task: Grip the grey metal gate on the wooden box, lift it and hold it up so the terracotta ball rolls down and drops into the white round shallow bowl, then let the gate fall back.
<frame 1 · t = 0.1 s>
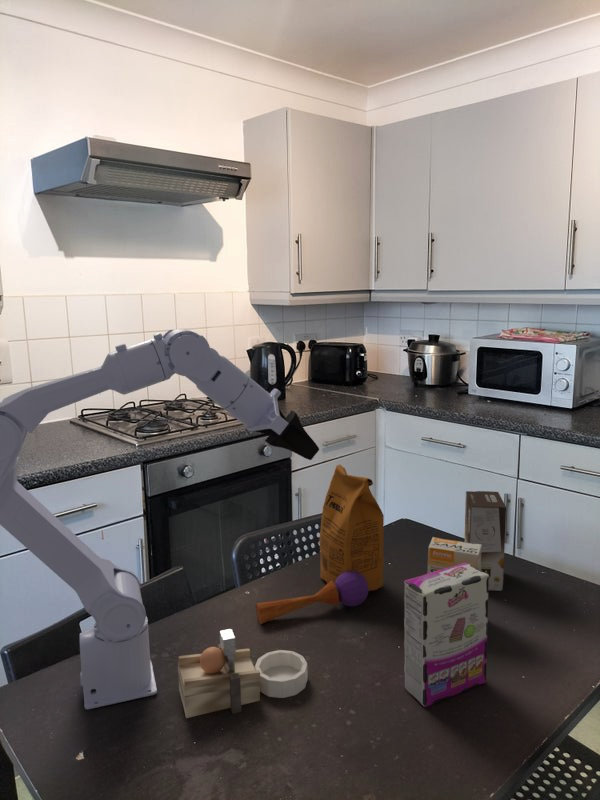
hand: (305, 447, 91), 32 cm above the table, tool tilted 50°, fingers open, 7 cm apart
candy bar box: (444, 687, 86), on the table
wooden box: (219, 695, 85), on the table
coffee package: (350, 584, 116), on the table, touching kendama
coffee box: (482, 580, 117), on the table
kendama: (314, 612, 106), on the table, touching coffee package
gate: (228, 650, 84), point 6 cm above the table, slide at 0.0 cm, touching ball
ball: (212, 660, 84), point 6 cm above the table, tilted 7°, touching gate, wooden box
supplement box: (452, 619, 104), on the table
white round shallow bowl: (281, 681, 88), on the table
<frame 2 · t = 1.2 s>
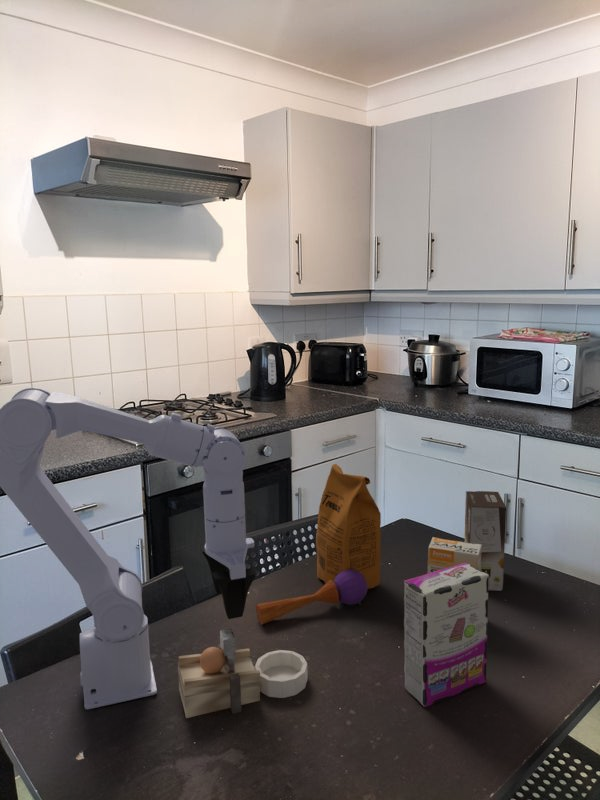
hand: (228, 603, 90), 10 cm above the table, tool pointing down, fingers open, 7 cm apart
coffee package: (347, 583, 117), on the table, touching kendama
everything else where it was.
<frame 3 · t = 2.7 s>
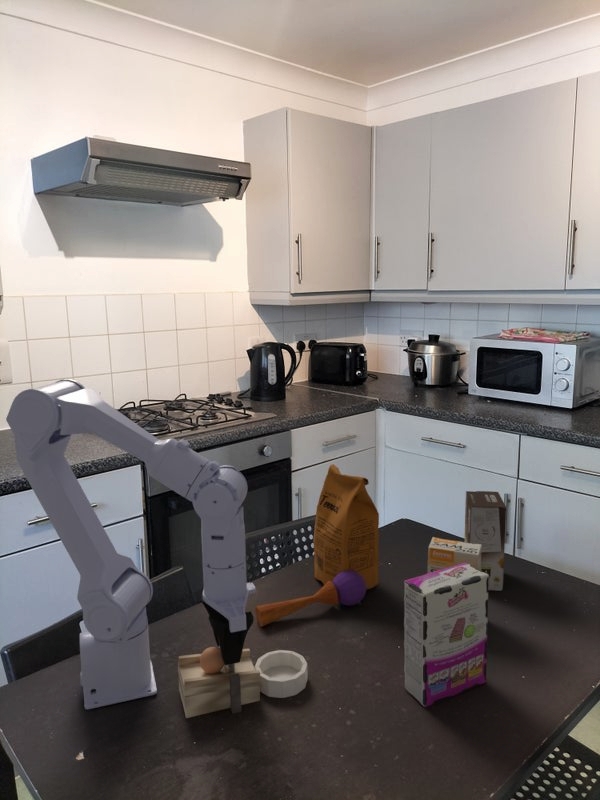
hand: (228, 652, 84), 6 cm above the table, tool pointing down, fingers closed on gate, 4 cm apart
gate: (228, 650, 84), point 6 cm above the table, slide at 0.0 cm, touching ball, gripper
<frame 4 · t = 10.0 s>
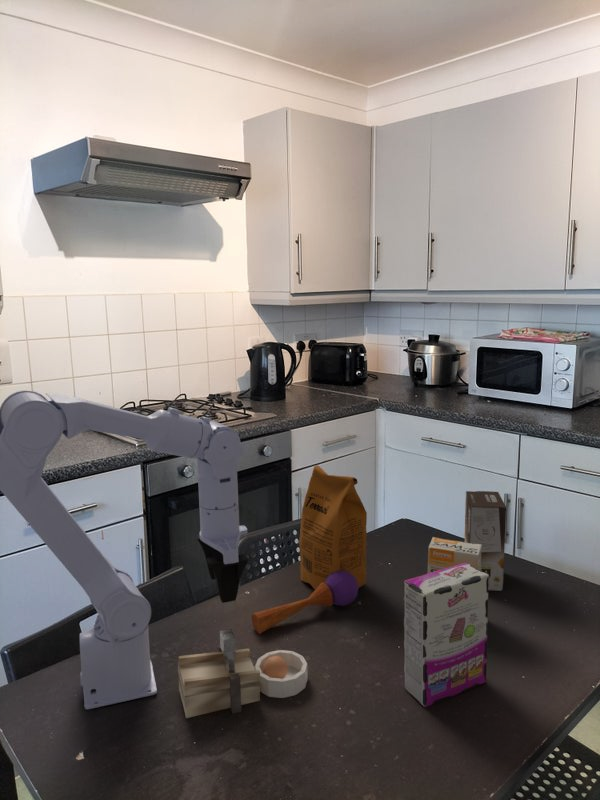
hand: (222, 588, 93), 10 cm above the table, tool pointing down, fingers open, 7 cm apart
coffee package: (332, 584, 117), on the table, touching kendama
kendama: (308, 616, 105), on the table, touching coffee package
gate: (228, 651, 84), point 6 cm above the table, slide at -0.1 cm
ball: (275, 668, 87), point 2 cm above the table, tilted 29°, touching white round shallow bowl
everything else where it was.
at the end: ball 0.8 cm off-centre on the white round shallow bowl, point 2.1 cm above the white round shallow bowl's base; gate slide at -0.1 cm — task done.
